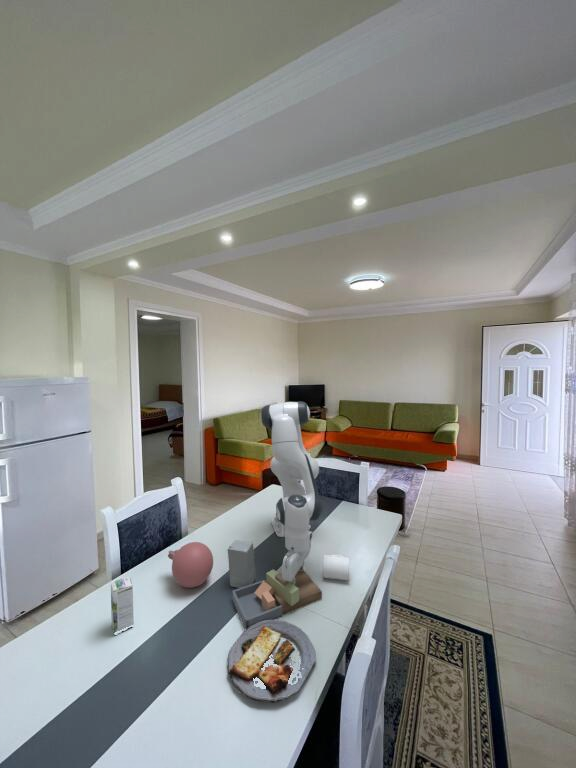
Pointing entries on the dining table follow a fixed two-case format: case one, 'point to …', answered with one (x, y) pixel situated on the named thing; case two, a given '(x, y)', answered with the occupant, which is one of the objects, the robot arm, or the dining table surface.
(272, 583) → the green bar
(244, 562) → the skincare box
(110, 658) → the dining table surface
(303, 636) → the food plate
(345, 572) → the mug
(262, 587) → the tile
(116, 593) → the syrup box
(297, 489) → the robot arm
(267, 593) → the tile
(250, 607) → the tray
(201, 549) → the balloon
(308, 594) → the brown flat block
